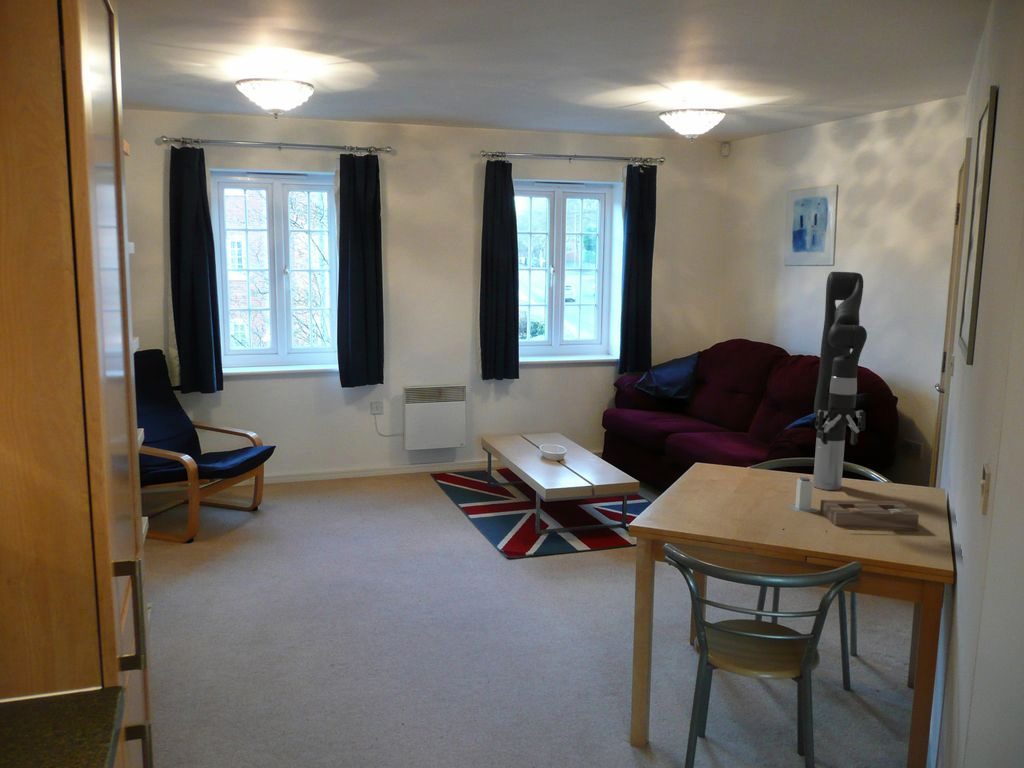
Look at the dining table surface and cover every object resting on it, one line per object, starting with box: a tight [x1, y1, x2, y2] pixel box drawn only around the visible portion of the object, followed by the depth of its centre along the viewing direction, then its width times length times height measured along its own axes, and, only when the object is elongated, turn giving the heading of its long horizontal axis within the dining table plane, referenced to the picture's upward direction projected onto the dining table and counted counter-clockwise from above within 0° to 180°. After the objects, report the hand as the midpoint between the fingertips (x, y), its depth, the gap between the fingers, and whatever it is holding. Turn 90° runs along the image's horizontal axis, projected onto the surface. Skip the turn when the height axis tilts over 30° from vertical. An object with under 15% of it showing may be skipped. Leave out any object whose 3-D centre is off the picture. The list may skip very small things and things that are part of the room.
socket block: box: [819, 499, 920, 532], centre depth 255 cm, size 13×24×5 cm, turn 89°
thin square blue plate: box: [788, 504, 819, 513], centre depth 266 cm, size 7×7×1 cm
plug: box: [794, 476, 813, 510], centre depth 265 cm, size 4×4×10 cm
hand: (838, 444), depth 257 cm, fingers open, 8 cm apart
